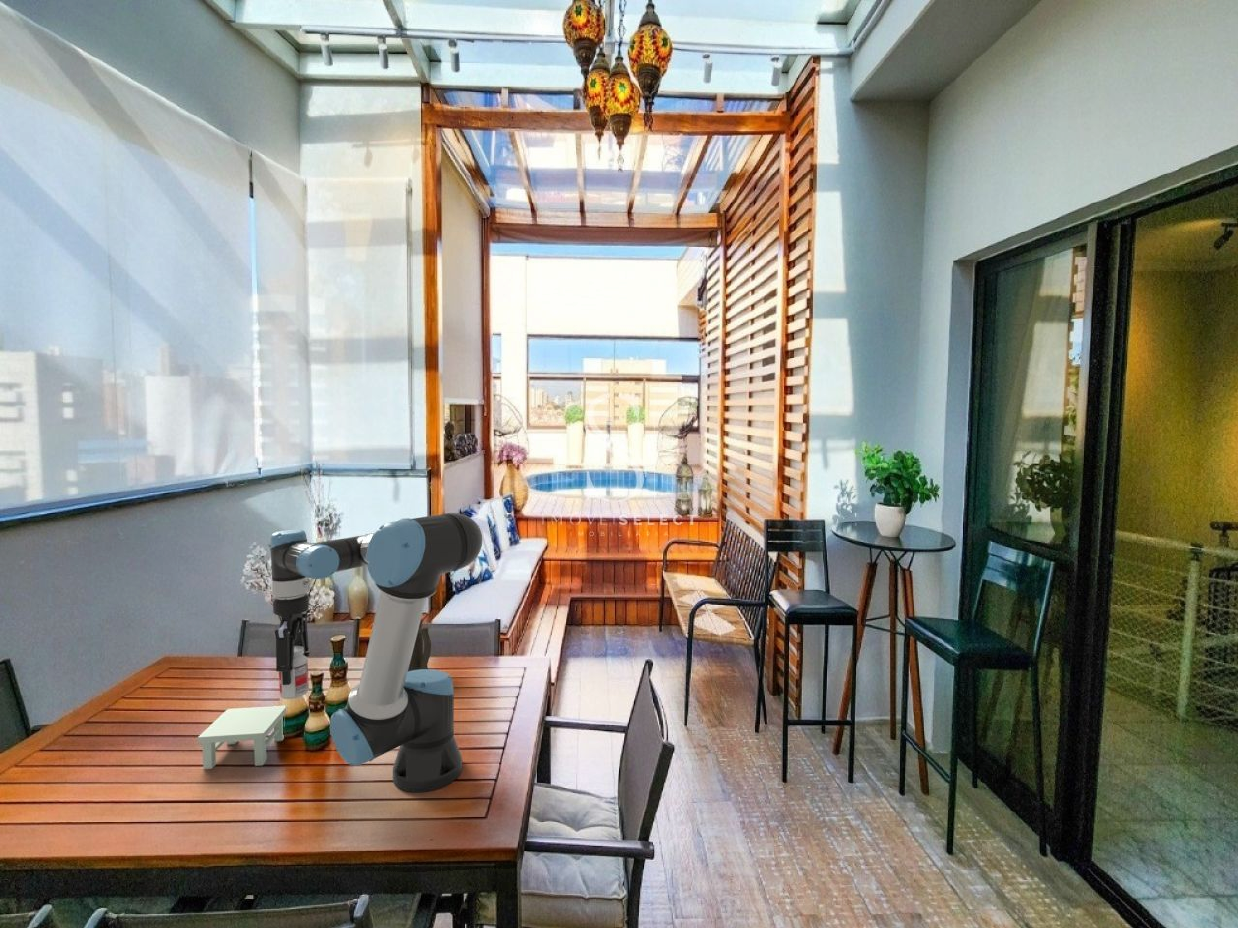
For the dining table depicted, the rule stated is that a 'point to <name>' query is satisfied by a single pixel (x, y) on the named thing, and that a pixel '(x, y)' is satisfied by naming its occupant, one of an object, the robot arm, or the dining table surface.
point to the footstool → (243, 731)
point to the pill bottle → (298, 673)
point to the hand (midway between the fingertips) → (294, 690)
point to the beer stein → (420, 650)
